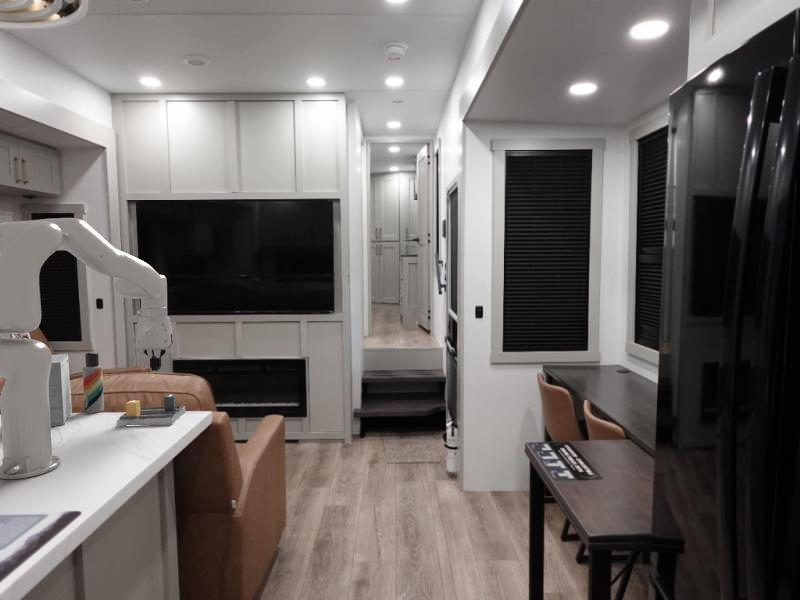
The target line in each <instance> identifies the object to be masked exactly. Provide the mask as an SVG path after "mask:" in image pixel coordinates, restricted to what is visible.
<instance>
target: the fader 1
mask: <svg viewBox="0 0 800 600" xmlns="http://www.w3.org/2000/svg"><path fill="white" fill-rule="evenodd" d="M140 407H141V400H138V399H137V400H128V401H127V402H126V403H125V408H126V409H125V413H126V416H139V415H140Z"/></svg>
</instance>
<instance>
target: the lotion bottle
mask: <svg viewBox="0 0 800 600" xmlns="http://www.w3.org/2000/svg"><path fill="white" fill-rule="evenodd" d="M84 357H85V360H84V361H85V366H83V367H82V381H83V382H82V384H83V386H82V387H83V388H82V389H83V407H84V413H86V414H96V413H101V412H103V411H104V410H105V401H104V397H105V395H104V378H103V372H104V371H103V366H102V365H100V359H99V353H92V352H87V353H85V355H84Z"/></svg>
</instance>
